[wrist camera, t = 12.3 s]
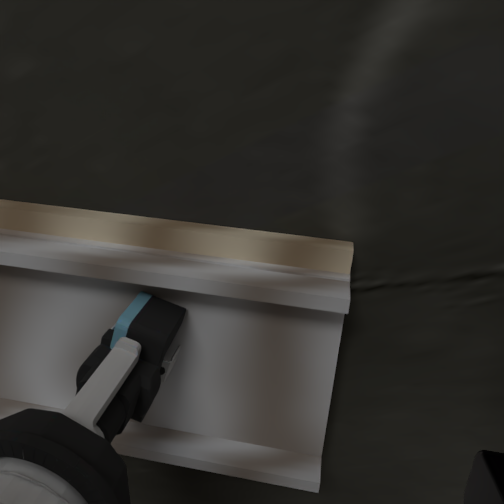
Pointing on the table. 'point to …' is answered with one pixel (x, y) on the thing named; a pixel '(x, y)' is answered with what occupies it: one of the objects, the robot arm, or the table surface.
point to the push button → (91, 415)
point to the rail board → (181, 332)
